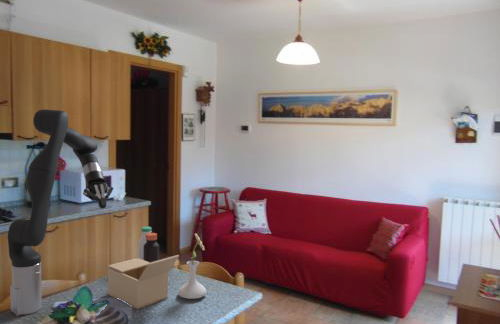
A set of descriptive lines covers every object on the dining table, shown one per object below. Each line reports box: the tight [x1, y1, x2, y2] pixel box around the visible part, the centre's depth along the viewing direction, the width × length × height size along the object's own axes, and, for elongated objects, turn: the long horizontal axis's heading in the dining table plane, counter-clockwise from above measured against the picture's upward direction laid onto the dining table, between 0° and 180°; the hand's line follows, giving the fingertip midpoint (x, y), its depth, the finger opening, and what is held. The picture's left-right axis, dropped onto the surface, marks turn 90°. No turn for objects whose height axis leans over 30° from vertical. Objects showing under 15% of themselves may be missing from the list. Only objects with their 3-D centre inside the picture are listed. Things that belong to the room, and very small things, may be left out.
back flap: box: [107, 257, 150, 273], centre depth 163 cm, size 14×10×1 cm
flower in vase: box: [177, 233, 207, 300], centre depth 162 cm, size 13×11×25 cm
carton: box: [107, 266, 169, 311], centre depth 160 cm, size 14×20×11 cm
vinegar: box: [143, 232, 160, 263], centre depth 180 cm, size 7×7×20 cm
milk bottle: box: [137, 226, 152, 260], centre depth 192 cm, size 8×8×20 cm
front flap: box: [139, 254, 180, 281], centre depth 151 cm, size 14×10×1 cm
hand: (103, 207), depth 168 cm, fingers closed
